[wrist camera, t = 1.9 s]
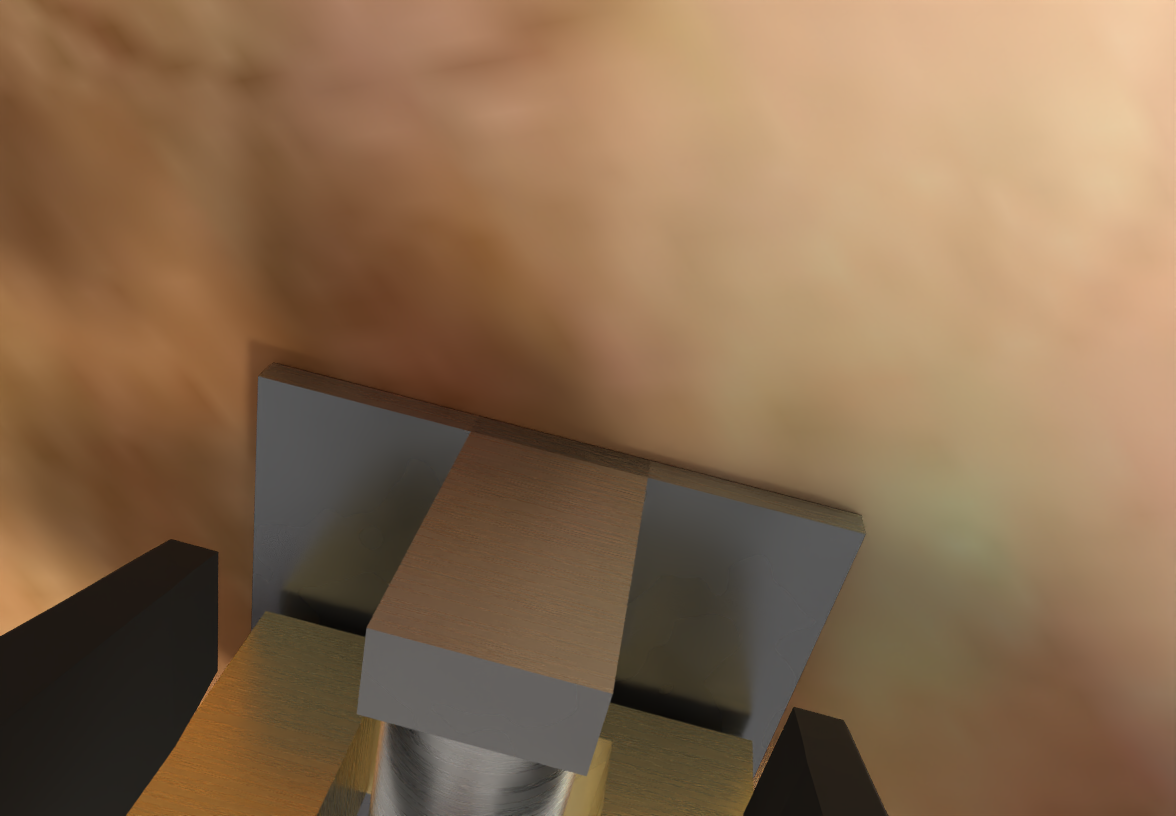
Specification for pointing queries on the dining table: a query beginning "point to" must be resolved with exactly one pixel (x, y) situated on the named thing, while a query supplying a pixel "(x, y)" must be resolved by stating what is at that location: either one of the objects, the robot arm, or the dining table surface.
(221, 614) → the dining table surface
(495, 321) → the dining table surface
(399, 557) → the pipe stand
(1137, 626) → the dining table surface
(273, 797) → the yellow block with hole
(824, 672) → the dining table surface
